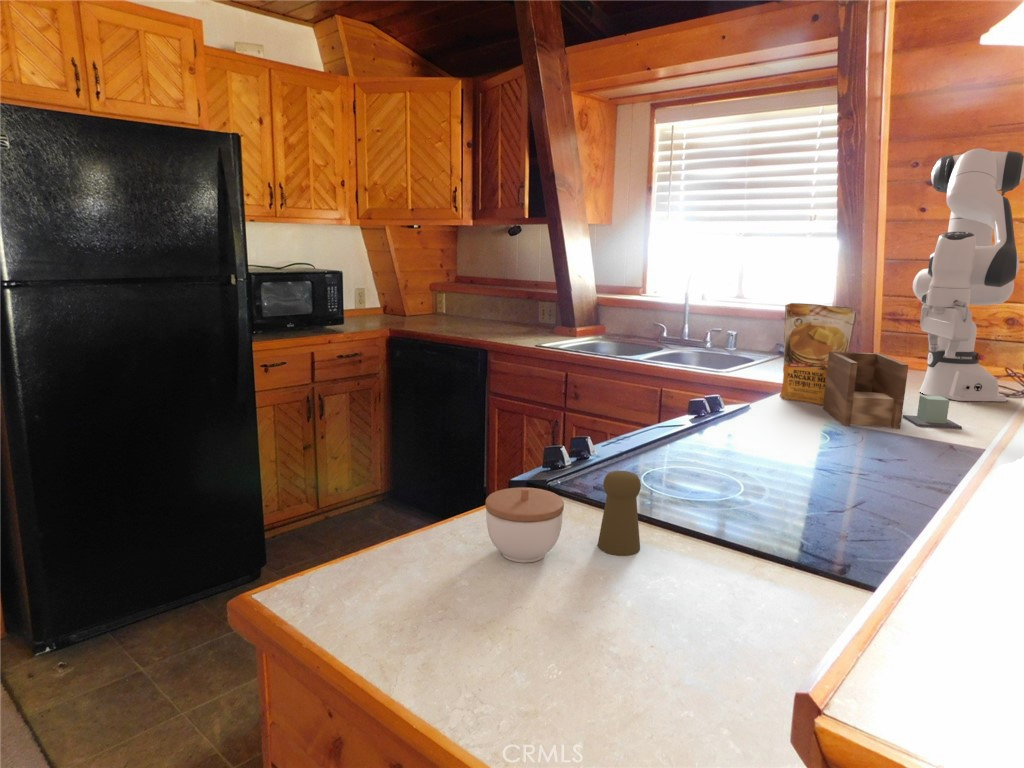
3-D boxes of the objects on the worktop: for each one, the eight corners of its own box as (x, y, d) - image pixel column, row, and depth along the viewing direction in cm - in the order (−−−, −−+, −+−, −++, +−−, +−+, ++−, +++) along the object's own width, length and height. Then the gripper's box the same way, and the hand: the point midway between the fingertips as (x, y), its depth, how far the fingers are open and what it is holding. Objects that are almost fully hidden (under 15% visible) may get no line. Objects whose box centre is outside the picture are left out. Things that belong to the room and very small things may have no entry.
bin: (873, 411, 186) (880, 353, 183) (900, 429, 167) (908, 364, 164) (822, 408, 188) (829, 351, 185) (843, 425, 169) (851, 362, 166)
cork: (622, 535, 101) (626, 464, 99) (649, 550, 96) (653, 476, 94) (589, 542, 98) (592, 469, 96) (614, 559, 93) (618, 482, 91)
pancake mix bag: (781, 394, 206) (790, 302, 201) (847, 405, 193) (858, 306, 188) (771, 397, 202) (780, 303, 196) (838, 408, 188) (849, 307, 183)
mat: (943, 419, 178) (944, 417, 178) (961, 429, 168) (961, 426, 168) (902, 417, 179) (902, 415, 179) (917, 426, 170) (918, 424, 170)
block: (937, 418, 176) (940, 396, 175) (946, 423, 171) (949, 400, 170) (916, 417, 177) (919, 395, 175) (924, 422, 172) (927, 399, 171)
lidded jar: (537, 532, 101) (539, 472, 100) (577, 561, 92) (579, 495, 90) (472, 545, 96) (472, 482, 95) (507, 577, 87) (508, 508, 85)
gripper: (983, 303, 157) (974, 361, 160) (944, 295, 177) (937, 348, 180) (953, 302, 158) (945, 360, 161) (918, 295, 178) (911, 347, 181)
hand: (941, 354), depth 171 cm, fingers open, 8 cm apart
